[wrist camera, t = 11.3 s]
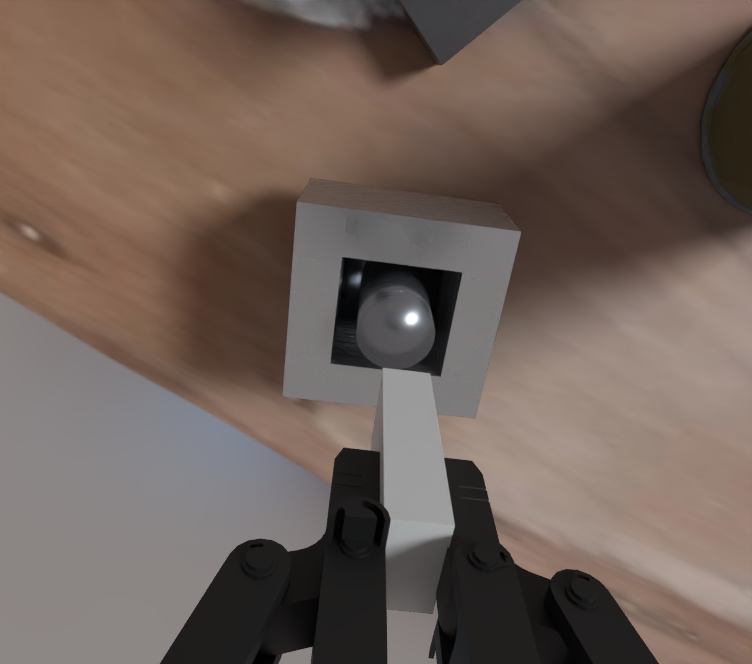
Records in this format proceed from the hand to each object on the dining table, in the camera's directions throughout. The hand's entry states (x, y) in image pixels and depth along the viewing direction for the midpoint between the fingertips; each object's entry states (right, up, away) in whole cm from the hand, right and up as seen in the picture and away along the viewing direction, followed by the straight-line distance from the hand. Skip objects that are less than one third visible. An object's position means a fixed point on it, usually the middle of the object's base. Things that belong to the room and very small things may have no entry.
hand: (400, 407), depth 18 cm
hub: (0, +6, +13) cm, 14 cm away
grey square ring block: (0, +5, +11) cm, 12 cm away
